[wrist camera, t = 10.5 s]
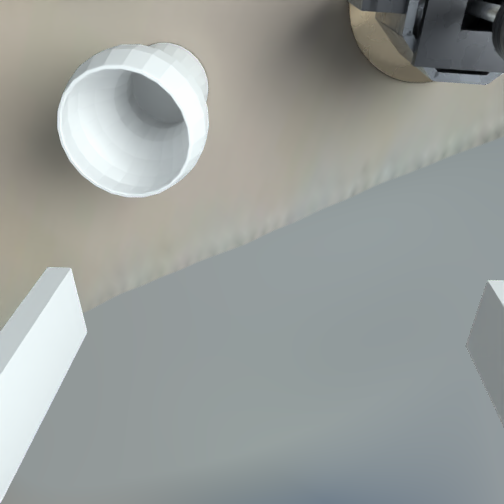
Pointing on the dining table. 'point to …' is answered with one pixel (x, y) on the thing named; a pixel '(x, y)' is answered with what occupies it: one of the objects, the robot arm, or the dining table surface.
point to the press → (426, 41)
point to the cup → (135, 118)
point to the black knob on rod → (475, 7)
